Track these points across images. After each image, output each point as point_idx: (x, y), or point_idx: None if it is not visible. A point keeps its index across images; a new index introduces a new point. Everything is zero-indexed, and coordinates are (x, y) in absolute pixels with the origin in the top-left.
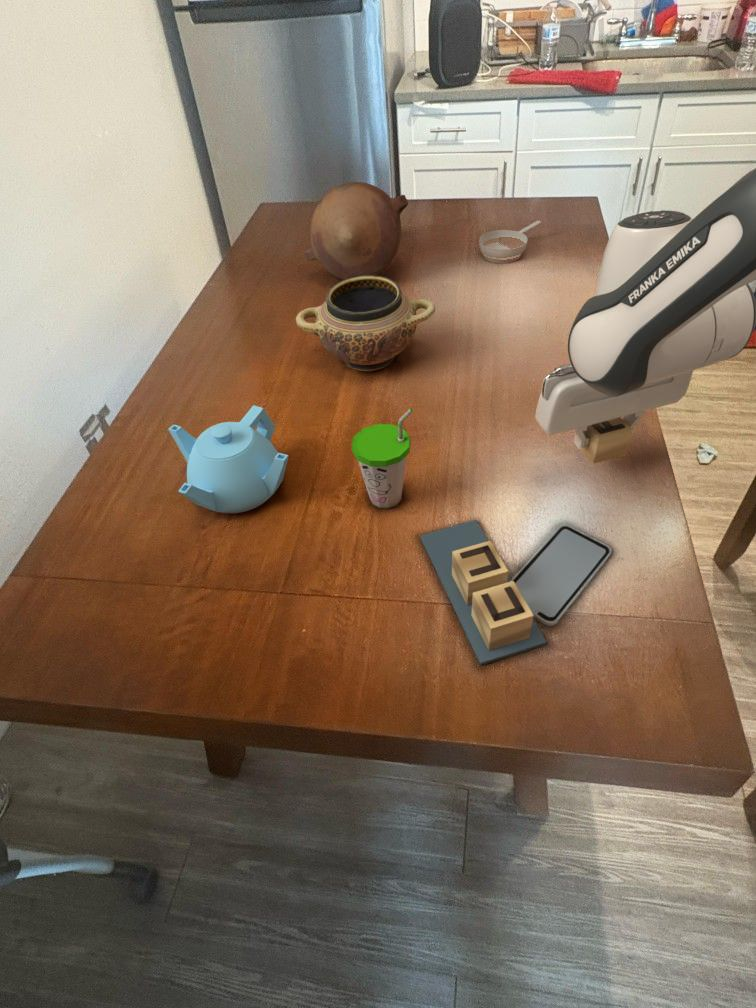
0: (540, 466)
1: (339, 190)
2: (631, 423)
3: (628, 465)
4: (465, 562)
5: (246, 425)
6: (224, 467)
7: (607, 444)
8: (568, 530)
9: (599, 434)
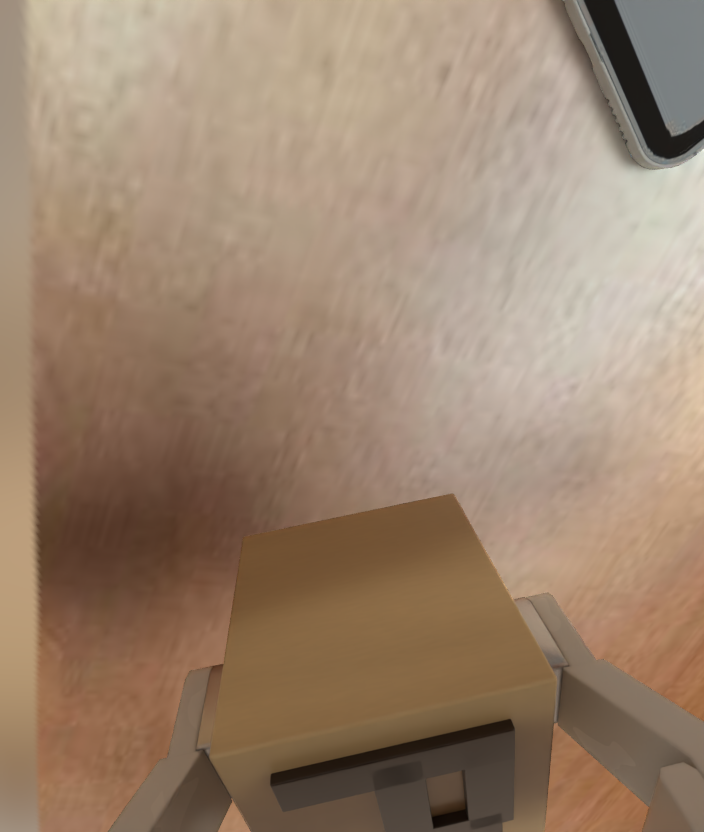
0: (539, 534)
1: None
2: (181, 791)
3: (195, 505)
4: None
5: None
6: None
7: (422, 613)
8: (665, 120)
9: (521, 715)
